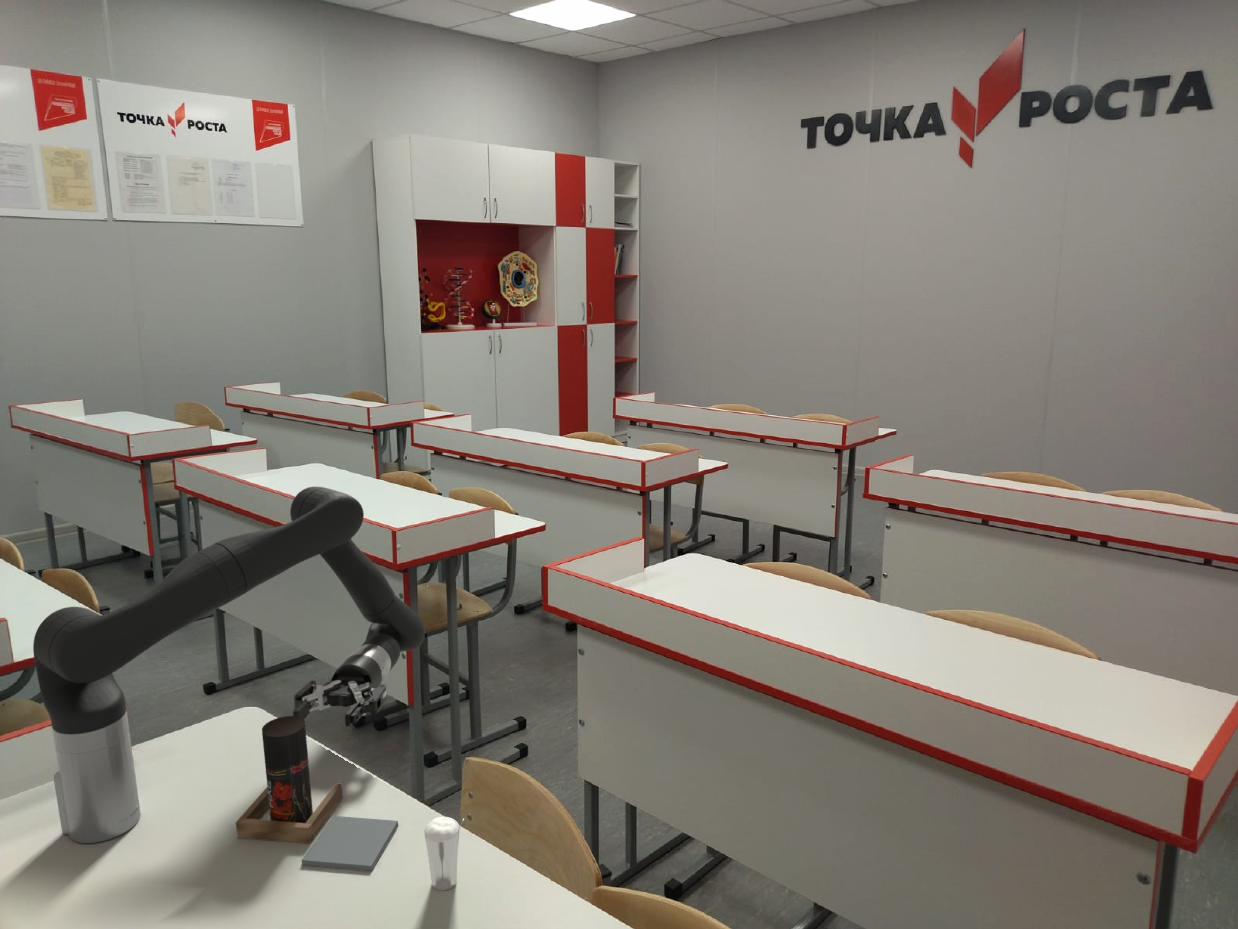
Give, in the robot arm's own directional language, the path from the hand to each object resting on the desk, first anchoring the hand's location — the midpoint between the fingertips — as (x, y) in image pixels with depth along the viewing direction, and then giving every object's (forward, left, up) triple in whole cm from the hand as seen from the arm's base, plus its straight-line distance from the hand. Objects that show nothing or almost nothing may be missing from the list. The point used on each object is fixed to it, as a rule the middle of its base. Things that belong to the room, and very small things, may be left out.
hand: (321, 720), depth 141 cm
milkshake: (+27, -22, -10) cm, 37 cm away
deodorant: (0, -11, -10) cm, 15 cm away
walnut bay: (0, -11, -10) cm, 15 cm away
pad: (+11, -16, -10) cm, 22 cm away
